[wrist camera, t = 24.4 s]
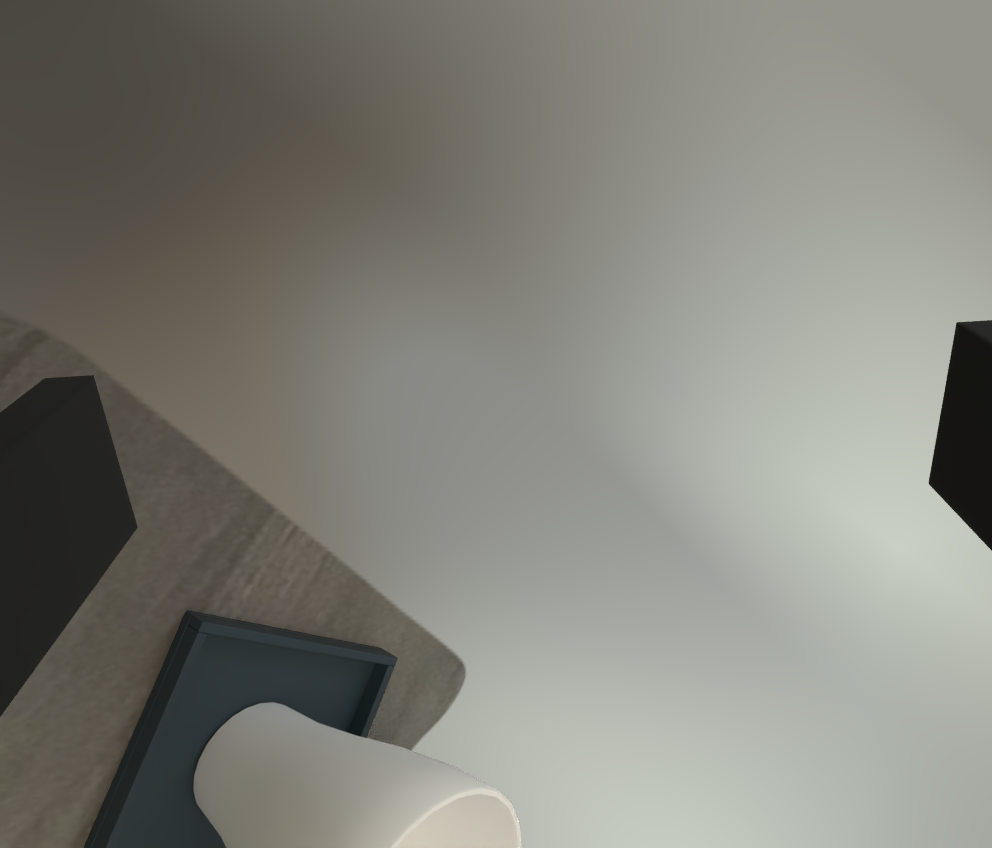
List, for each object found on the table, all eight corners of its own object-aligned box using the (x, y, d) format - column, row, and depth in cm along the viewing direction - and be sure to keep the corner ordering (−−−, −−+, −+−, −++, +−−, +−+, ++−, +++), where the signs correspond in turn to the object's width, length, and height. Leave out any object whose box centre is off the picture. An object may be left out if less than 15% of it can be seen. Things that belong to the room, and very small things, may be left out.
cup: (239, 626, 40) (433, 756, 31) (366, 697, 47) (553, 819, 38) (97, 839, 37) (269, 1052, 28) (257, 881, 44) (434, 1060, 35)
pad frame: (186, 610, 38) (203, 621, 37) (381, 648, 48) (398, 658, 47) (63, 894, 37) (77, 914, 36) (290, 874, 46) (306, 889, 45)
